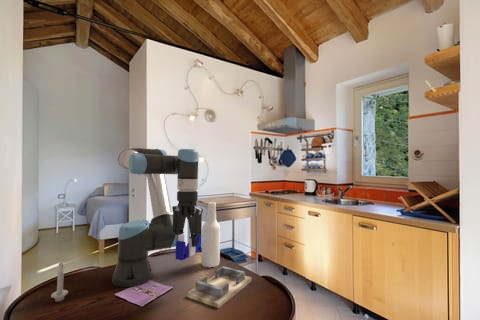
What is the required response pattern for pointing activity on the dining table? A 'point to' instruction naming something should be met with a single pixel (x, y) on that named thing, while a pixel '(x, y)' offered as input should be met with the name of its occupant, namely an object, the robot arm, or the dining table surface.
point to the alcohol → (211, 239)
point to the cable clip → (186, 248)
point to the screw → (60, 285)
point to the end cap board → (219, 286)
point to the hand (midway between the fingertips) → (186, 253)
